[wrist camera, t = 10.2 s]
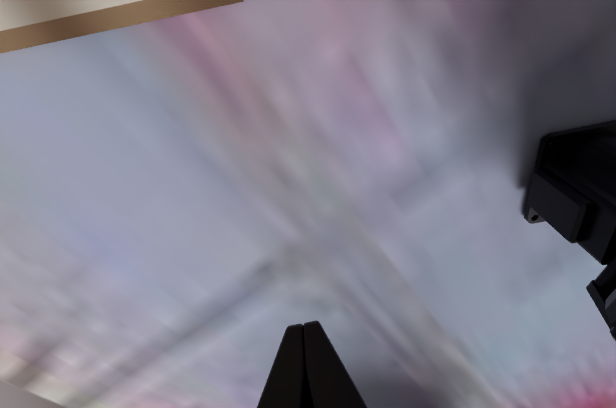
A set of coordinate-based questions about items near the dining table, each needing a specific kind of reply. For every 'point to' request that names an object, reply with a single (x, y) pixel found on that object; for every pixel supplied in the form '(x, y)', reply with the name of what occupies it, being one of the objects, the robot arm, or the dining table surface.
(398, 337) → the dining table surface
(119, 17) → the picture frame
